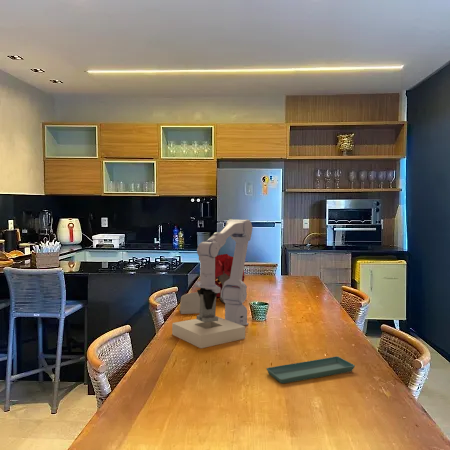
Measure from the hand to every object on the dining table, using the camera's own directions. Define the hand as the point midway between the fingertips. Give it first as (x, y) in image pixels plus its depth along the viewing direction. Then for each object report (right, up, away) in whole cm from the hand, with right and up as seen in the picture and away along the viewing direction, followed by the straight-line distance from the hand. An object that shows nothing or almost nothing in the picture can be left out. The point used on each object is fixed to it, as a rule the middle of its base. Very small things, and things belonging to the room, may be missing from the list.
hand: (207, 308), depth 173 cm
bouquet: (+6, -7, +69) cm, 69 cm away
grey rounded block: (-6, -9, +38) cm, 40 cm away
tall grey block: (0, -4, 0) cm, 4 cm away
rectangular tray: (+33, -13, -36) cm, 51 cm away
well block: (0, -11, -1) cm, 11 cm away
